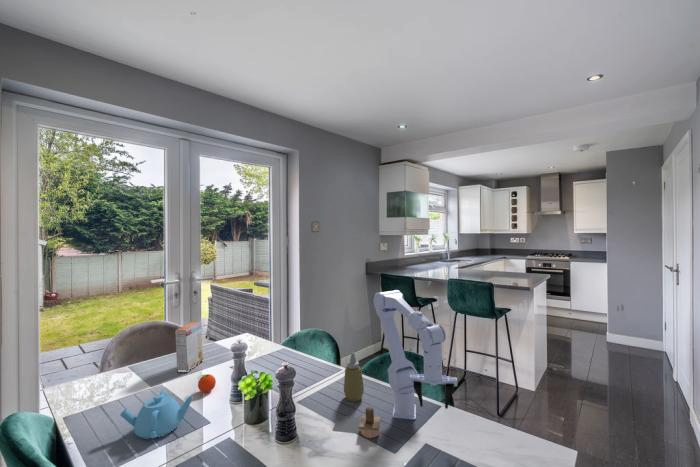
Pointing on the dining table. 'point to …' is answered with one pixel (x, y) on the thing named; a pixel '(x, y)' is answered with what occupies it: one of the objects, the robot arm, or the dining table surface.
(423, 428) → the dining table surface
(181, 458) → the dining table surface
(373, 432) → the bowl
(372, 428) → the lid
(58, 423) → the dining table surface
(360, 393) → the squeeze bottle
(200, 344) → the cracker box
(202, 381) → the clementine
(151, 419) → the teapot
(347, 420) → the coaster
